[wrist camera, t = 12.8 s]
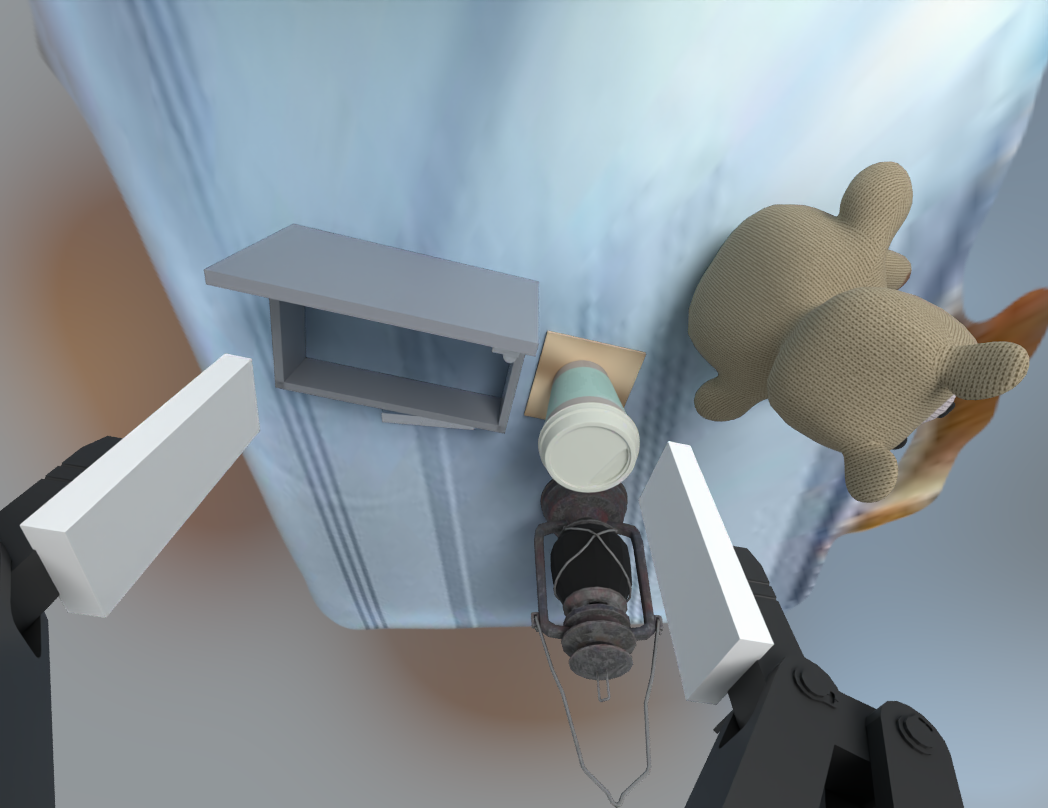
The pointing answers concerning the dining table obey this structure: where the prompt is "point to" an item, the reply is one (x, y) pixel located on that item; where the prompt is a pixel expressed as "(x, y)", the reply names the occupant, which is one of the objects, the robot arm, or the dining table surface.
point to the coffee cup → (587, 431)
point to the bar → (418, 420)
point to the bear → (838, 331)
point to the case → (385, 316)
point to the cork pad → (568, 348)
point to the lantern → (593, 591)
